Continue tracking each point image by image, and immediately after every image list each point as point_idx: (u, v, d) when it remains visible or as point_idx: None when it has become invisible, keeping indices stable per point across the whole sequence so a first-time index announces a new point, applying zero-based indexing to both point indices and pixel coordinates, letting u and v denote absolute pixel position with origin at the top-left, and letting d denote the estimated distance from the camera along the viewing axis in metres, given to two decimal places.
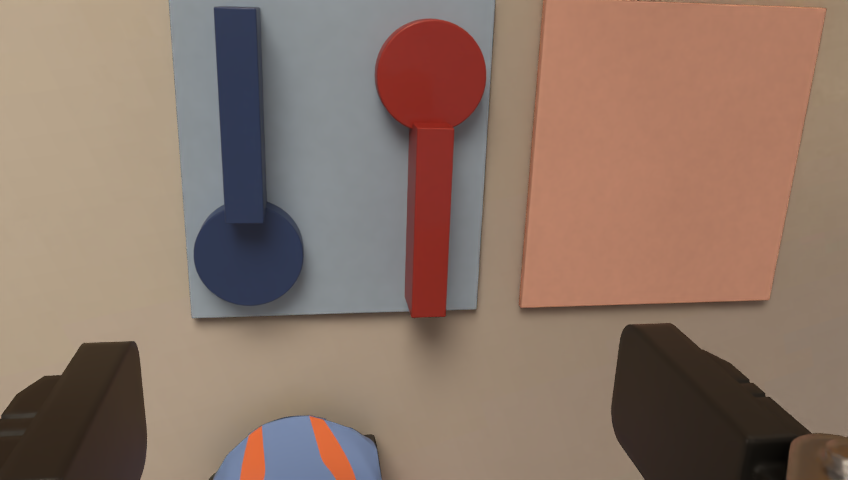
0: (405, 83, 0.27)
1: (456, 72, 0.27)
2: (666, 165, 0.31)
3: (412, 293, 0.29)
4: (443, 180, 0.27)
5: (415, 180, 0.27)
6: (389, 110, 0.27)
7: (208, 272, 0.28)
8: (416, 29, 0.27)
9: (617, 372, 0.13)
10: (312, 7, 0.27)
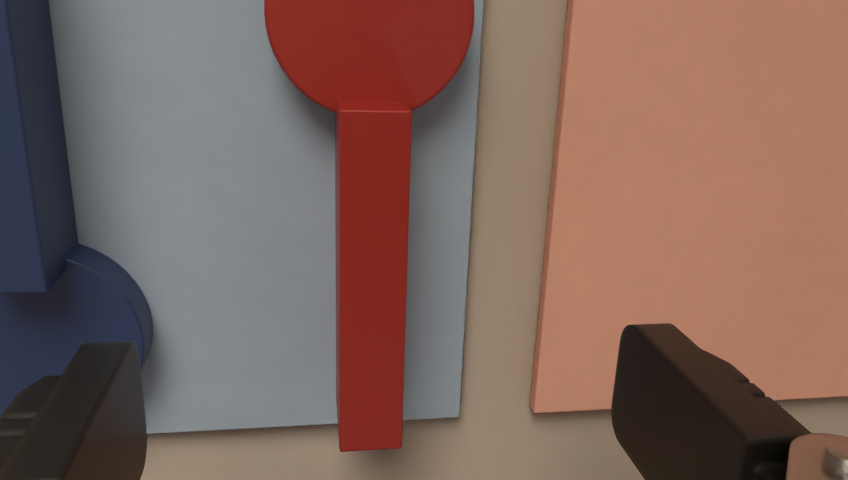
0: (320, 25, 0.14)
1: (416, 5, 0.14)
2: (783, 176, 0.18)
3: (340, 410, 0.16)
4: (392, 209, 0.15)
5: (339, 209, 0.14)
6: (291, 77, 0.15)
7: None
8: None
9: (617, 372, 0.13)
10: None
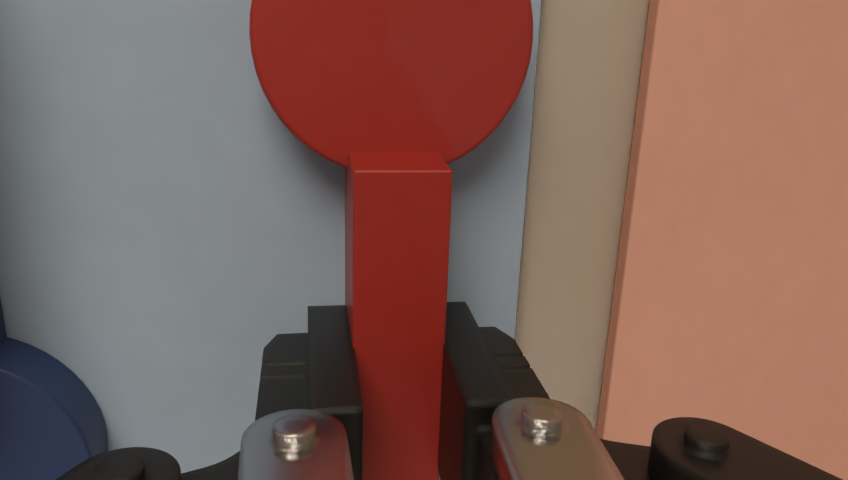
0: (326, 52, 0.11)
1: (456, 24, 0.11)
2: None
3: None
4: (424, 301, 0.11)
5: (353, 302, 0.11)
6: (287, 122, 0.11)
7: None
8: None
9: None
10: None
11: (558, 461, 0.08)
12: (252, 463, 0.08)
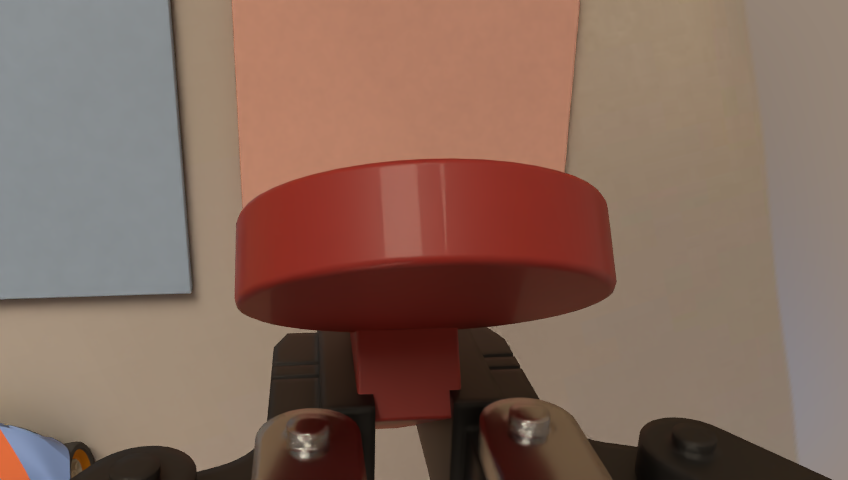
0: (335, 312, 0.08)
1: (507, 302, 0.08)
2: (406, 120, 0.26)
3: None
4: None
5: None
6: (286, 326, 0.09)
7: None
8: (381, 274, 0.06)
9: None
10: None
11: (546, 462, 0.08)
12: (266, 461, 0.08)
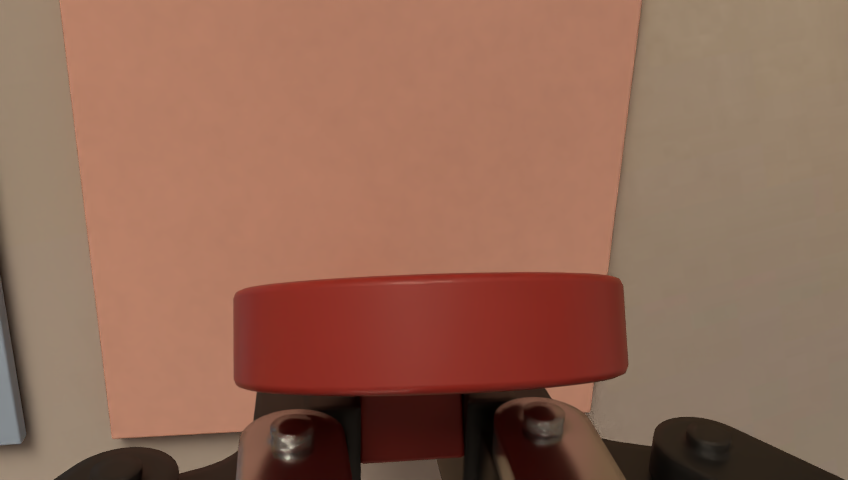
0: None
1: None
2: (360, 176, 0.16)
3: None
4: None
5: None
6: None
7: None
8: (385, 393, 0.06)
9: None
10: None
11: (560, 461, 0.08)
12: (250, 463, 0.08)
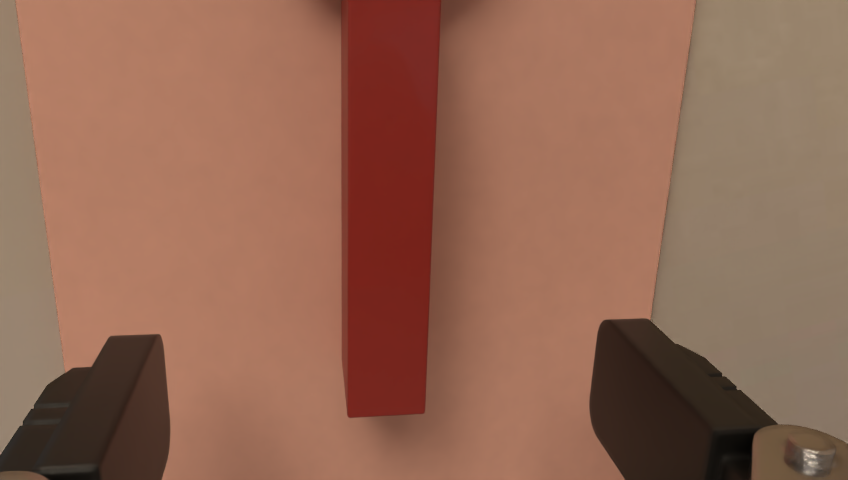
0: None
1: None
2: None
3: (348, 364, 0.13)
4: (416, 98, 0.11)
5: (348, 97, 0.11)
6: None
7: None
8: None
9: (594, 366, 0.13)
10: None
11: None
12: None
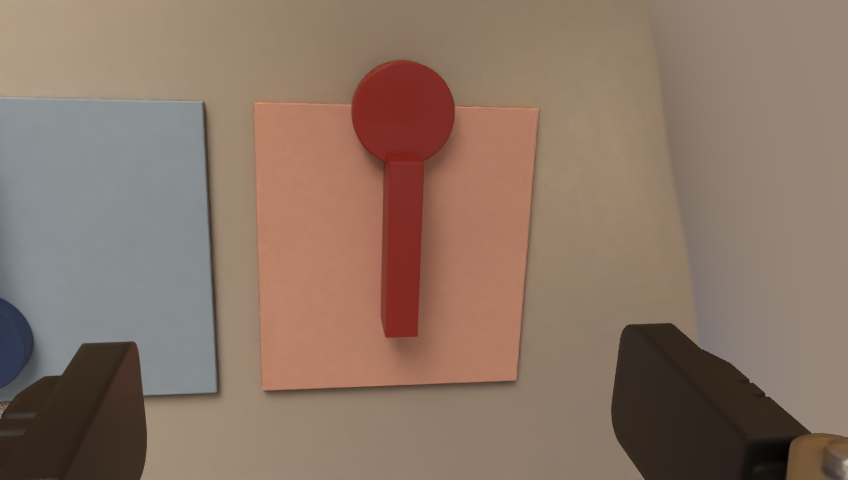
0: (379, 120, 0.29)
1: (426, 110, 0.29)
2: None
3: (386, 315, 0.31)
4: (414, 210, 0.29)
5: (388, 210, 0.29)
6: (364, 145, 0.30)
7: None
8: (388, 70, 0.29)
9: (617, 372, 0.13)
10: (18, 115, 0.28)
11: None
12: None
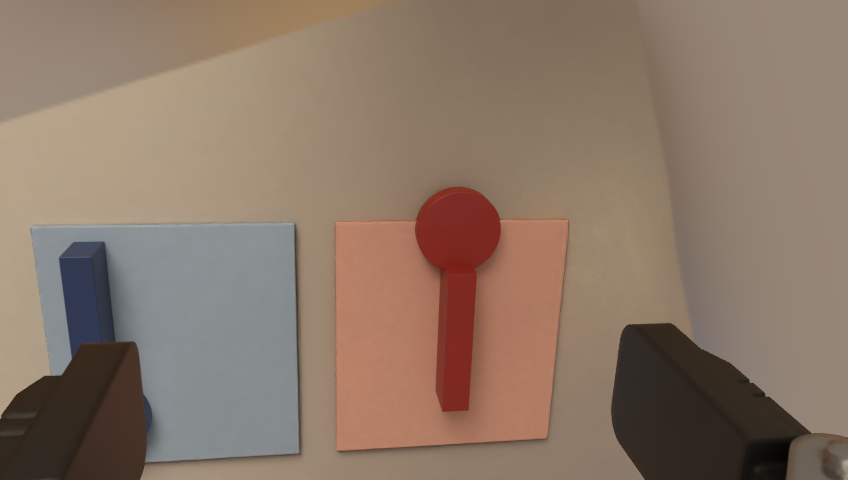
0: (439, 237, 0.36)
1: (477, 228, 0.36)
2: None
3: (443, 393, 0.37)
4: (468, 311, 0.36)
5: (446, 311, 0.36)
6: (426, 257, 0.36)
7: None
8: (448, 199, 0.35)
9: (617, 372, 0.13)
10: (146, 239, 0.34)
11: None
12: None
